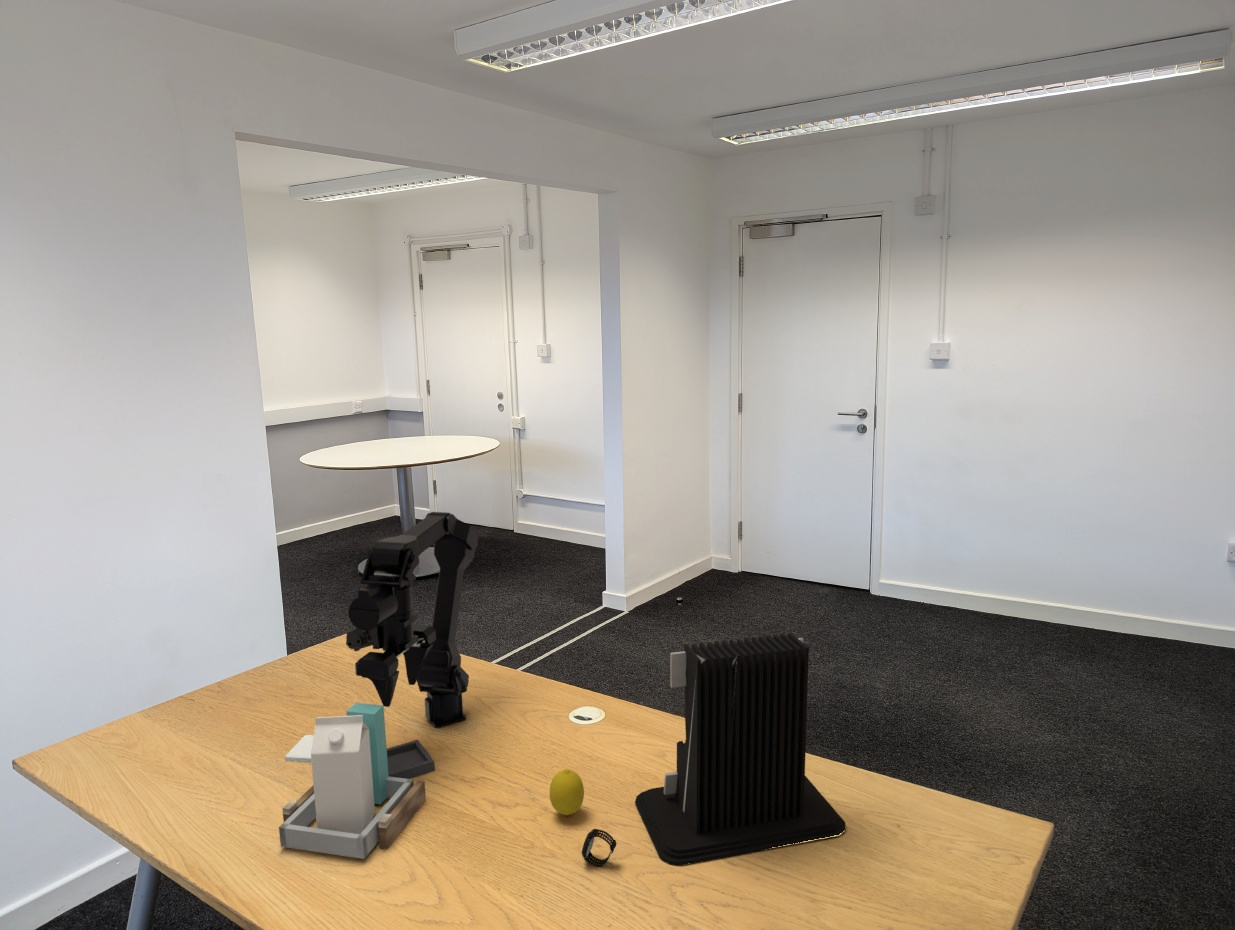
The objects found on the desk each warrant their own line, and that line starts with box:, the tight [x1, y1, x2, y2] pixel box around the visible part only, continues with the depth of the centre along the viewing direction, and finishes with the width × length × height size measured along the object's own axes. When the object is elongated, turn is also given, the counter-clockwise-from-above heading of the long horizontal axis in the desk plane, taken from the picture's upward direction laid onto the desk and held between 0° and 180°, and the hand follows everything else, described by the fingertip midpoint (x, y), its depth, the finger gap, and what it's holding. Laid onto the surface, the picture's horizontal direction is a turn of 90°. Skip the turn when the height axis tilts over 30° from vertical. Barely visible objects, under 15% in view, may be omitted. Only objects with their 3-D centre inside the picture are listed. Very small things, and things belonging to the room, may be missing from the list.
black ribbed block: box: [634, 632, 847, 866], centre depth 127 cm, size 30×19×30 cm, turn 104°
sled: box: [278, 702, 414, 860], centre depth 127 cm, size 16×14×16 cm
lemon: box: [549, 768, 585, 817], centre depth 129 cm, size 6×6×8 cm
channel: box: [282, 779, 427, 850], centre depth 130 cm, size 13×18×4 cm
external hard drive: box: [284, 734, 314, 763], centre depth 150 cm, size 2×8×12 cm
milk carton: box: [311, 715, 376, 834], centre depth 126 cm, size 7×7×19 cm
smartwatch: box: [581, 828, 617, 868], centre depth 118 cm, size 4×5×5 cm
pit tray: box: [387, 739, 436, 779], centre depth 145 cm, size 9×9×2 cm
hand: (399, 695), depth 144 cm, fingers open, 9 cm apart
